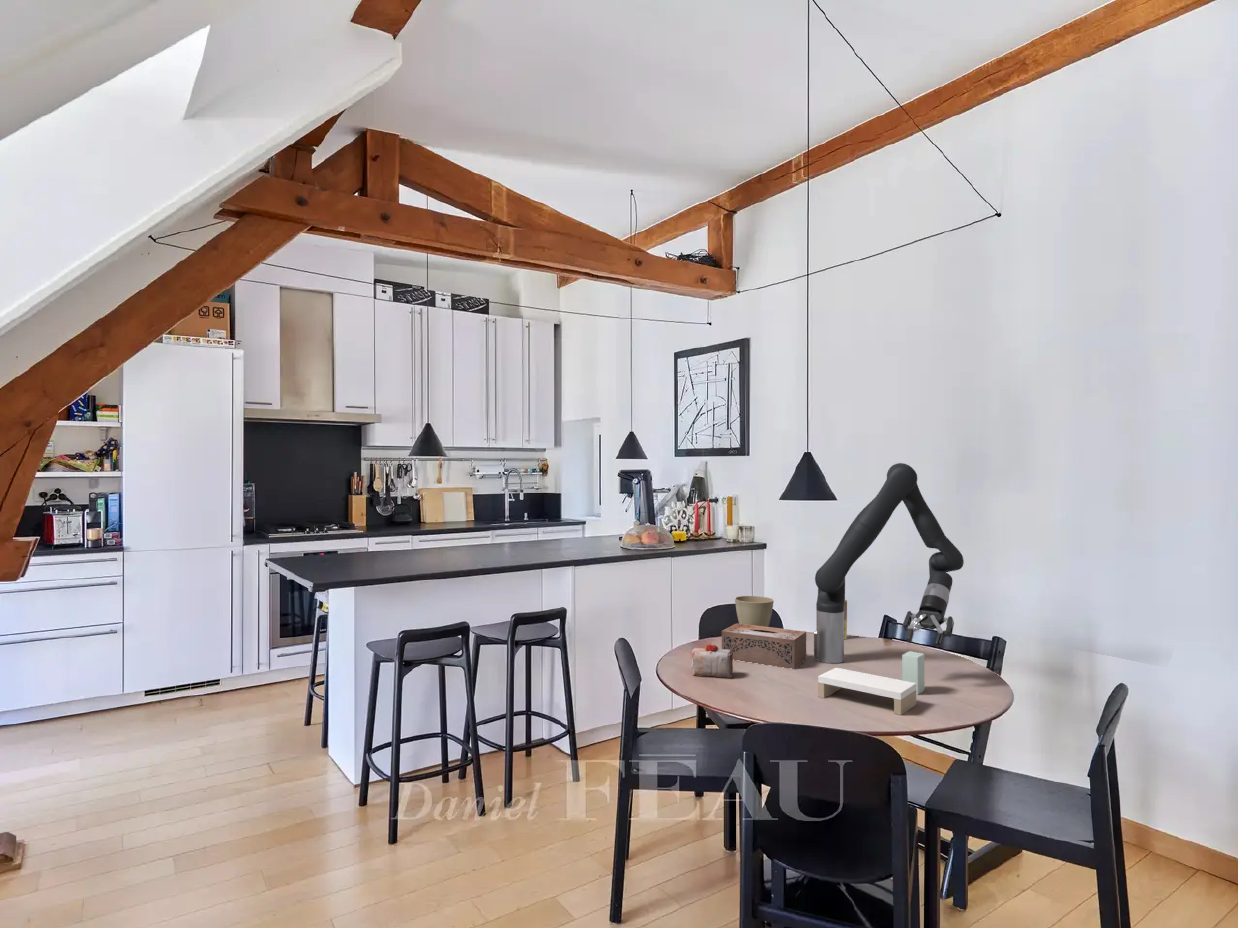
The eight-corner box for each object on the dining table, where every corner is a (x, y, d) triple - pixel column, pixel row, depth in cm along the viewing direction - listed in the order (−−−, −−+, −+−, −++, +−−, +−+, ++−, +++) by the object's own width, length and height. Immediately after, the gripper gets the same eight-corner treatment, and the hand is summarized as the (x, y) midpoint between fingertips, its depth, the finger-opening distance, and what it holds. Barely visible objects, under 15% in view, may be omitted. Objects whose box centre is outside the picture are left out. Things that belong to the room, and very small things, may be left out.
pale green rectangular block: (902, 691, 216) (902, 654, 216) (909, 687, 221) (909, 651, 221) (917, 694, 213) (917, 657, 213) (924, 690, 218) (924, 653, 218)
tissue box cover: (721, 659, 253) (721, 630, 253) (736, 650, 266) (736, 623, 266) (794, 669, 240) (794, 639, 240) (806, 659, 253) (806, 631, 253)
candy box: (839, 636, 286) (839, 598, 286) (847, 639, 282) (847, 599, 282) (822, 639, 282) (822, 599, 282) (830, 641, 278) (830, 601, 278)
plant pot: (765, 646, 270) (765, 603, 270) (728, 641, 279) (728, 599, 279) (779, 638, 283) (779, 597, 283) (744, 633, 291) (744, 594, 291)
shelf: (818, 696, 212) (818, 675, 212) (835, 687, 221) (836, 667, 221) (900, 715, 196) (900, 693, 196) (916, 704, 205) (916, 683, 205)
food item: (688, 676, 232) (688, 646, 232) (692, 670, 239) (692, 640, 239) (731, 680, 228) (731, 648, 228) (734, 673, 236) (734, 642, 236)
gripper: (909, 591, 235) (896, 632, 226) (955, 596, 225) (944, 640, 217) (915, 605, 239) (902, 646, 230) (961, 610, 229) (949, 654, 221)
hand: (922, 643), depth 223 cm, fingers open, 8 cm apart
